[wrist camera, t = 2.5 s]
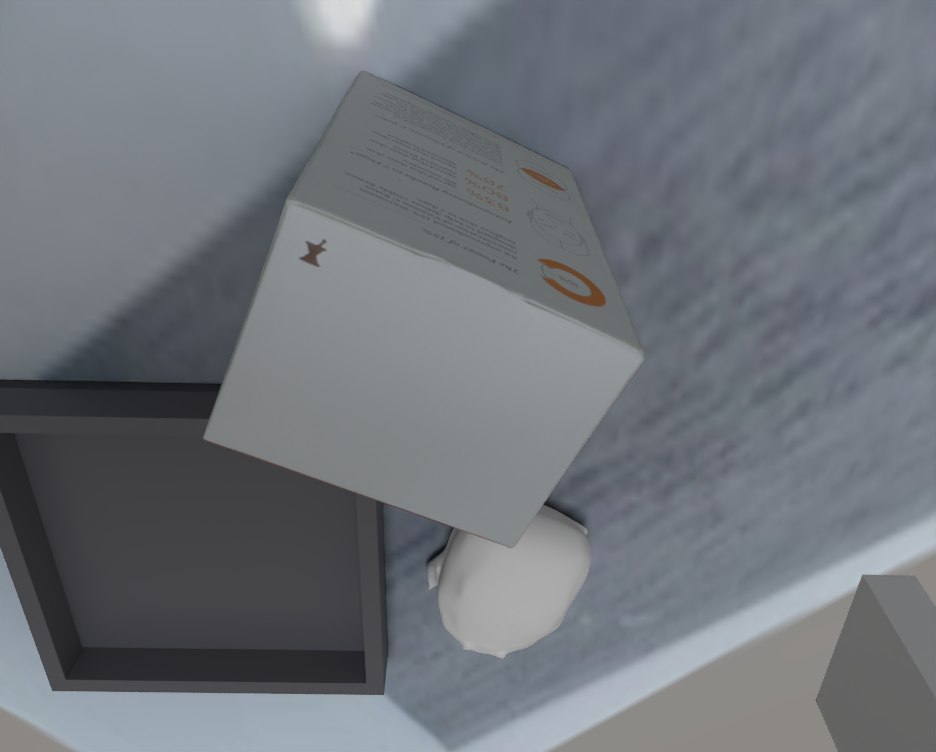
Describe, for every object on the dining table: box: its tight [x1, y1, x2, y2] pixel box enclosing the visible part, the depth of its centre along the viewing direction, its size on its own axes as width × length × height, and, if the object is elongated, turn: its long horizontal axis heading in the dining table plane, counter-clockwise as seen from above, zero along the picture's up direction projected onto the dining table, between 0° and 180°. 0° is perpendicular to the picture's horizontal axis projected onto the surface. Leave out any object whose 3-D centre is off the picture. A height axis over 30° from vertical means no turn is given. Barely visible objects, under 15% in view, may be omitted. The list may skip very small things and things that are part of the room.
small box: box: [203, 71, 645, 548], centre depth 23 cm, size 8×6×13 cm
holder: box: [0, 380, 388, 695], centre depth 35 cm, size 16×16×2 cm
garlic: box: [426, 505, 591, 658], centre depth 36 cm, size 8×7×4 cm
